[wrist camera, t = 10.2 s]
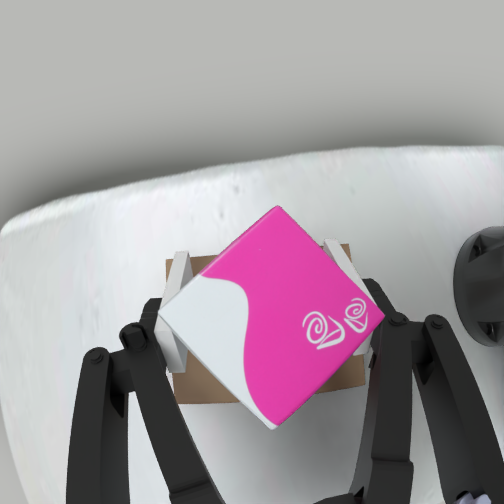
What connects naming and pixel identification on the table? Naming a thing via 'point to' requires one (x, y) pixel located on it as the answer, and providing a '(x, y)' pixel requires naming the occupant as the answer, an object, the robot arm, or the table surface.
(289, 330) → the supplement box
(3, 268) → the table surface
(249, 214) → the table surface
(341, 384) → the brown flat block
